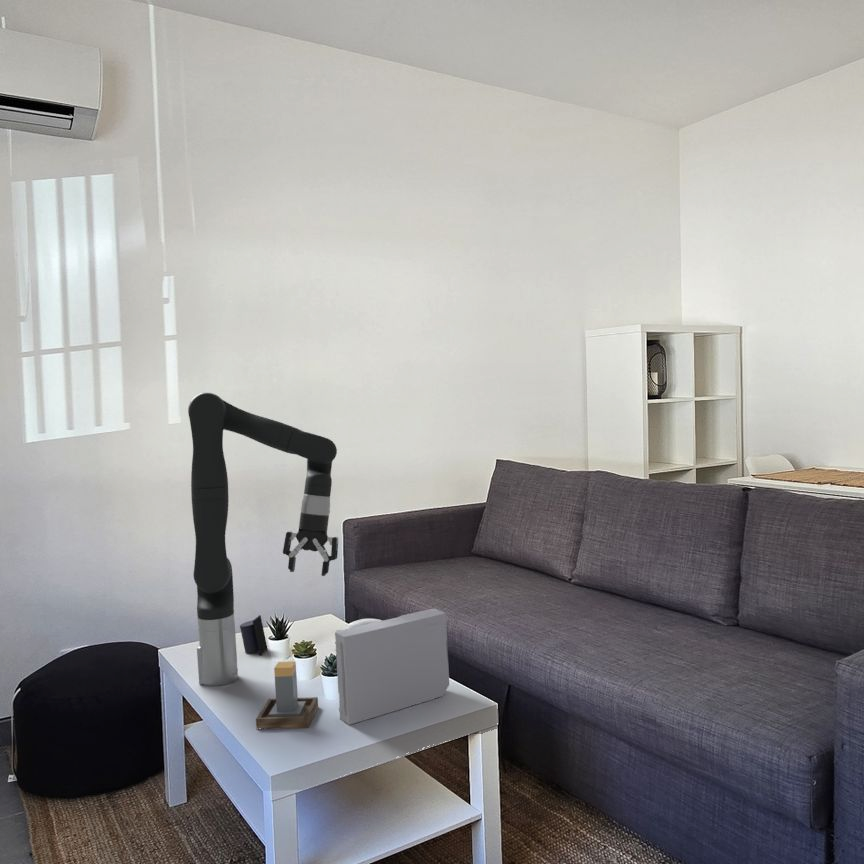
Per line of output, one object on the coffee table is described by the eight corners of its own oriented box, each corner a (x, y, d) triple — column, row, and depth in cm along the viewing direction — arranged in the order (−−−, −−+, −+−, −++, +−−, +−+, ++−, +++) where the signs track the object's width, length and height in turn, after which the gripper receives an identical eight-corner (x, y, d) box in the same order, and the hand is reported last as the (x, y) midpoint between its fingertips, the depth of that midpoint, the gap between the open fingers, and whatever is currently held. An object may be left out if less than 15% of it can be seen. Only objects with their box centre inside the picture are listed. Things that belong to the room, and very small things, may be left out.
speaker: (274, 648, 230) (267, 614, 230) (260, 656, 225) (254, 620, 225) (254, 648, 234) (248, 614, 234) (241, 655, 229) (234, 620, 229)
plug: (269, 721, 177) (265, 670, 177) (276, 708, 184) (273, 660, 184) (300, 720, 177) (296, 669, 176) (306, 707, 184) (303, 658, 183)
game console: (336, 717, 179) (331, 631, 178) (436, 687, 194) (432, 608, 193) (348, 725, 175) (343, 637, 174) (449, 694, 189) (445, 612, 188)
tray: (256, 729, 175) (255, 719, 175) (269, 708, 187) (268, 698, 186) (308, 727, 174) (307, 717, 174) (318, 706, 186) (317, 697, 186)
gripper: (285, 509, 207) (277, 572, 206) (338, 515, 206) (331, 578, 205) (292, 509, 215) (285, 569, 214) (343, 515, 213) (337, 575, 212)
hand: (307, 573), depth 209 cm, fingers open, 8 cm apart
